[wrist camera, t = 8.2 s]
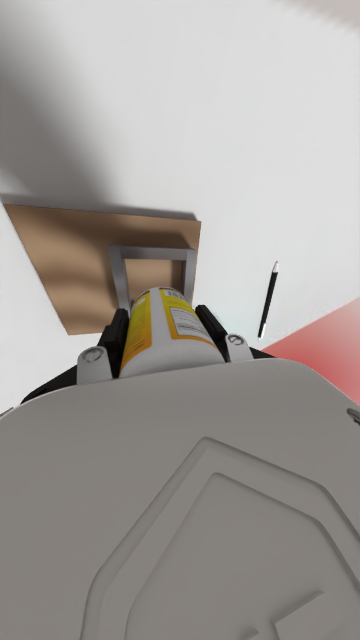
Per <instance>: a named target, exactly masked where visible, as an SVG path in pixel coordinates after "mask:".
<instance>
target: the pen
mask: <svg viewBox="0 0 360 640" xmlns="http://www.w3.org/2000/svg"><path fill="white" fill-rule="evenodd" d="M277 274H278V261H277V263H276V264H275V267H274V269H273V272H272V276H271V280H270V285H269V289H268V294H267V298H266V303H265V307H264V312H263V316H262V321H261V325H260V330H259V334H258V338H259V339H258V341H260V339H262V338H263V334H264V330H265V326H266V323H265V322H266V318H267V314H268V310H269V306H270V302H271V298H272V294H273V290H274V286H275V282H276V278H277Z"/></svg>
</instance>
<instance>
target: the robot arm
mask: <svg viewBox="0 0 360 640" xmlns="http://www.w3.org/2000/svg"><path fill="white" fill-rule="evenodd" d="M195 313H196V315H197V316H198V318H199V320H200V321H201V323H202V325H203V326H204V328H205V329H206V331H207V333H208V334H209V336H210V337H211V339H212V341H213V342H214V344H215V345H216V347H217V348H218V350H219V352H220V353H221V355H222V357H223V359H224V361H225V363H220V364H213V365H205V366H198V367H191V368H183V369H176V370H169V371H162V372H155V373H148V374H142V375H135V376H128V377H121V378H119V374H120V368H121V363H122V358H123V353H124V347H125V342H126V337H127V331H128V325H129V315H128V310H125V308H119V309H117V310H116V312H115V315H114V317H113V320H112V322H111V325H106V326H105V329H104V331H103V333H102V335H101V338H100V340H99V342H98V344H97V346H94V347H91V348H88V349H86V350H84V351H83V352H82V353H81V354H80V355H79V356H78V359H77V365H75V366H74V367H72V368H70V369H69V370H67V371H65V372H64V373H62V374H60V375H59V376H57V377H55V378H54V379H52V380H50V381H49V382H47V383H45V384H44V385H42V386H40V387H39V388H37V389H35V390H34V391H32V392H31V393H30V394H28V395H27V396H26V397H25V398H24V399H23V401H22V402H21V403H20V405H19V406H17V407H15V408H13V407H12V408H10V409H9V410H7V411H5V412H4V413H2V414H0V640H360V406H359V405H357V404H356V403H355V402H354V401H353V400H351V399H350V398H349V397H348V396H346V395H345V394H344V393H342V391H340V390H339V389H338V388H336V387H335V386H334V385H333V384H332V383H330V382H329V381H327V380H326V379H325V378H324V377H323V376H321V375H320V374H318V373H317V372H316V371H314V370H313V369H311V368H310V367H308V366H306V365H304V364H302V363H299V362H296V361H292V360H287V359H279V358H276V357H274V356H271V355H269V354H266V353H264V352H261V351H259V350H256V349H254V348H251V347H249V346H248V344H247V342H246V340H245V339H244V338H243V337H242V336H240V335H237V334H228V333H227V332H226V330H225V329H224V328H223V327H222V326H221V324H220V323H219V322H218V321H217V319H216V318H215V317H214V316H213V314H212V313H211V312H210V311H209V309H208V308H207V307H206V306H205V305H198V307H196V309H195Z"/></svg>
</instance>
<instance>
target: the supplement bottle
mask: <svg viewBox="0 0 360 640" xmlns="http://www.w3.org/2000/svg"><path fill="white" fill-rule="evenodd" d="M220 363H225V361H224V359H223V357H222V355H221V353H220V352H219V350H218V348H217V347H216V345H215V344H214V342H213V341H212V339H211V337H210V336H209V334H208V333H207V331H206V329H205V328H204V326H203V325H202V323H201V321H200V320H199V318H198V316H197V315H196V313H195V312H194V310H193V309H192V307H191V305H190V304H189V302H188V300H187V299H186V298H185V297H184V296H183V295H182V294H181V293H180V292H179V291H177V290H175V289H172V288H169V287H155V288H151V289H149V290H147V291H145V292H143V293H142V294H141V295H140V296H139V297H138V298H137V299H136V300H135V302H134V304H133V306H132V310H131V315H130V320H129V325H128V331H127V337H126V342H125V347H124V353H123V358H122V363H121V368H120V374H119V378H121V377H128V376H135V375H142V374H148V373H155V372H162V371H169V370H176V369H183V368H191V367H198V366H205V365H213V364H220Z"/></svg>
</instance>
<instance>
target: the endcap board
mask: <svg viewBox="0 0 360 640" xmlns="http://www.w3.org/2000/svg"><path fill="white" fill-rule="evenodd" d="M3 205H4V207H5V209H6V211H7V213H8V215H9V217H10V219H11V221H12V223H13V225H14V227H15V229H16V231H17V233H18V235H19V237H20V239H21V241H22V243H23V245H24V247H25V249H26V251H27V253H28V255H29V257H30V259H31V261H32V263H33V265H34V267H35V269H36V271H37V273H38V275H39V277H40V279H41V281H42V283H43V285H44V287H45V289H46V291H47V293H48V295H49V297H50V299H51V301H52V303H53V305H54V307H55V309H56V311H57V313H58V315H59V317H60V319H61V322H62V324H63V326H64V328H65V330H66V332H67V334H68V335H79V334H92V333H103V331H104V329H105V326H106V325H111V322H112V320H113V317H114V315H115V312H116V310H117V309H119V308H125V310H128V315H129V320H130V315H131V310H132V306H133V304H134V302H135V300H136V299H137V298H138V297H139V296H140V295H141V294H142V293H143V292H145V291H147V290H149V289H151V288H155V287H169V288H172V289H175V290H177V291H179V292H180V293H181V294H182V295H183V296H184V297H185V298H186V299H187V300H188V302H189V304H190V305H191V307H192V300H193V291H194V282H195V273H196V264H197V255H198V247H199V238H200V229H201V221H191V220H180V219H169V218H158V217H146V216H135V215H124V214H113V213H102V212H90V211H79V210H68V209H57V208H45V207H34V206H23V205H12V204H3Z"/></svg>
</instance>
